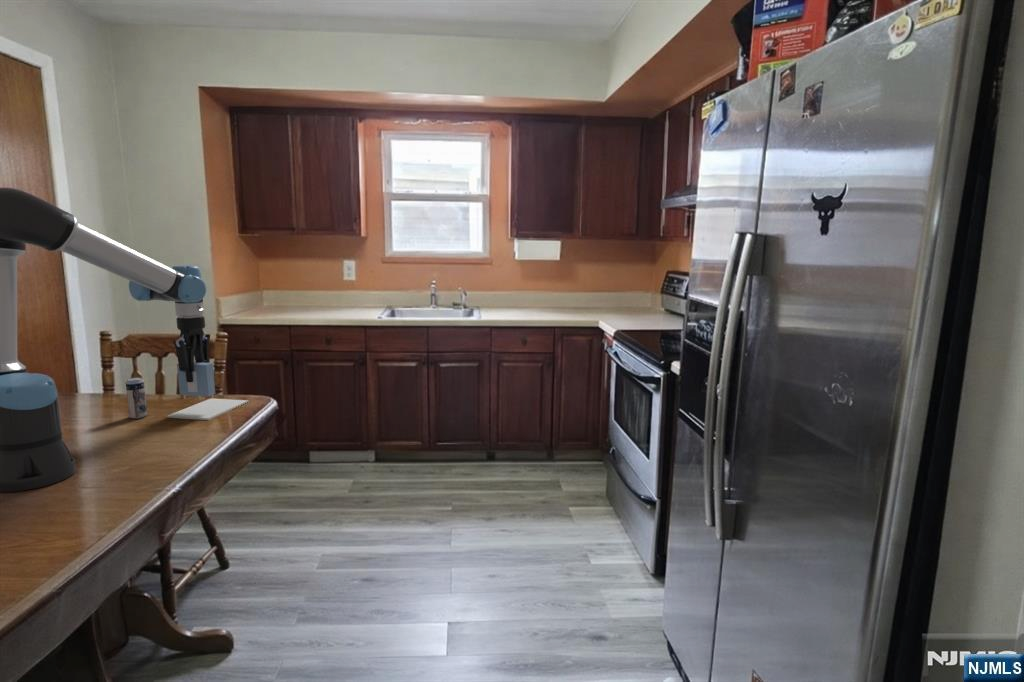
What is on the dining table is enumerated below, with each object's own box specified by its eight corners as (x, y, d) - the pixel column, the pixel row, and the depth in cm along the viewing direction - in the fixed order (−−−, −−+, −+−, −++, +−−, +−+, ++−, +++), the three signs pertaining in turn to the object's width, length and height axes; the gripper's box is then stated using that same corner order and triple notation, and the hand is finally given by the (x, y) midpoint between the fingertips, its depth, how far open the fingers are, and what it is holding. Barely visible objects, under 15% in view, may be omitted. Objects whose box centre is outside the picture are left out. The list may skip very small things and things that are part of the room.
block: (208, 396, 171) (206, 365, 170) (179, 394, 173) (176, 363, 171) (215, 393, 174) (212, 363, 173) (186, 392, 176) (183, 361, 174)
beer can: (140, 419, 167) (136, 381, 165) (125, 419, 167) (121, 380, 165) (151, 414, 172) (147, 377, 170) (136, 414, 172) (132, 377, 170)
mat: (208, 420, 168) (208, 418, 167) (167, 417, 169) (167, 415, 169) (248, 402, 187) (248, 400, 187) (211, 400, 189) (210, 398, 189)
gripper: (182, 320, 161) (189, 397, 165) (218, 313, 177) (224, 384, 181) (159, 319, 162) (167, 396, 166) (197, 312, 178) (203, 383, 182)
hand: (197, 390), depth 173 cm, fingers closed on block, 3 cm apart
